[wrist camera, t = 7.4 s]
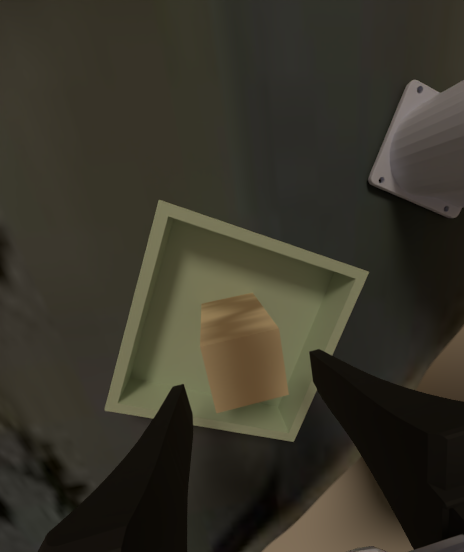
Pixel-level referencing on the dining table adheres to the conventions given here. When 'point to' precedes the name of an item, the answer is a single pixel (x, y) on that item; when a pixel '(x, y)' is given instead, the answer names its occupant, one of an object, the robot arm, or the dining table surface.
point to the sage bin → (215, 286)
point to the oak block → (241, 352)
